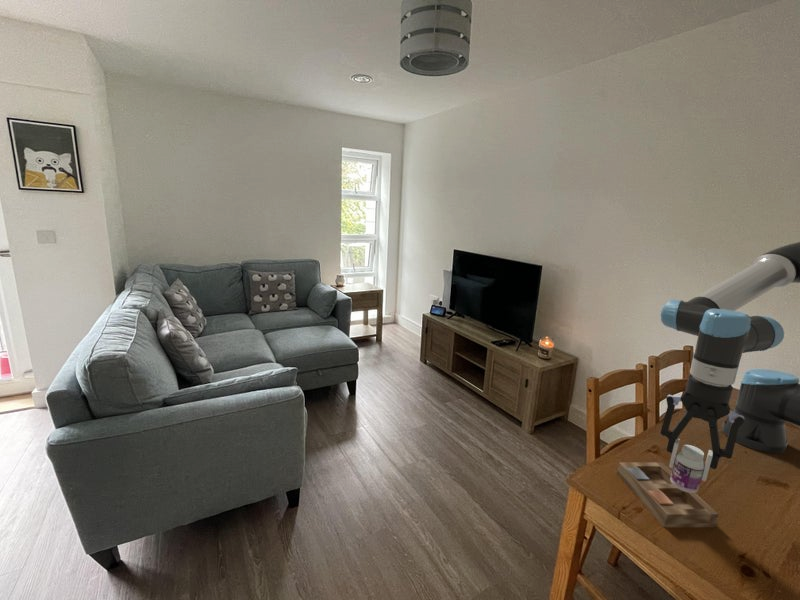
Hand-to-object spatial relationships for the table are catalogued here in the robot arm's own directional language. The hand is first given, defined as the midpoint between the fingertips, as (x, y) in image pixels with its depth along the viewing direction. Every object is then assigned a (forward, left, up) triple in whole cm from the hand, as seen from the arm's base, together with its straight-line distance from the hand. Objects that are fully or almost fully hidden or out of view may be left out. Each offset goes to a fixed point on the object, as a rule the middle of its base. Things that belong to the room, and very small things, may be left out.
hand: (687, 471), depth 85 cm
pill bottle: (0, 0, -4) cm, 4 cm away
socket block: (+1, -4, -11) cm, 12 cm away
